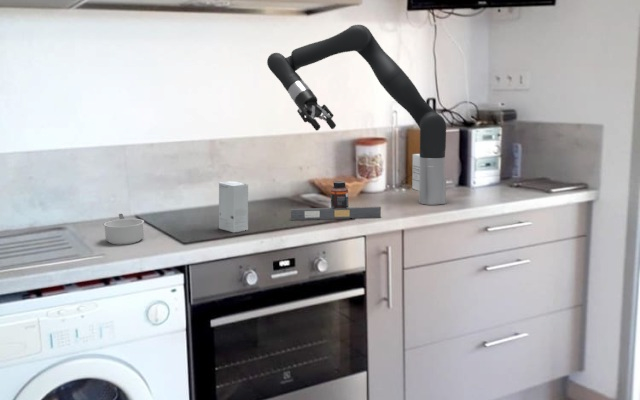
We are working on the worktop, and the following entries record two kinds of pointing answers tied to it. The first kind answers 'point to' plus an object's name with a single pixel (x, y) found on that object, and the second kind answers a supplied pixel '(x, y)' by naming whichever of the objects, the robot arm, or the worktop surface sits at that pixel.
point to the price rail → (335, 213)
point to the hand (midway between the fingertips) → (326, 128)
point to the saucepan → (124, 230)
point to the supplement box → (415, 171)
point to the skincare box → (233, 206)
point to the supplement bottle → (339, 195)
